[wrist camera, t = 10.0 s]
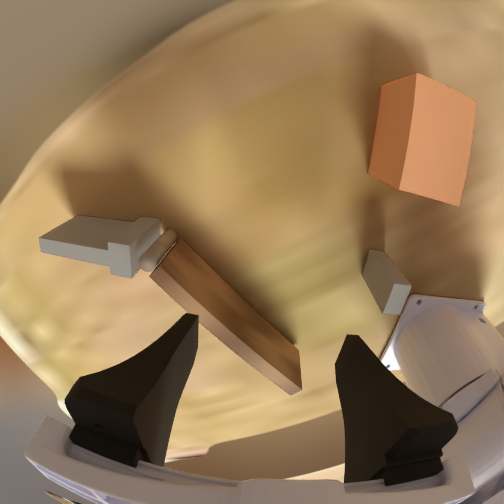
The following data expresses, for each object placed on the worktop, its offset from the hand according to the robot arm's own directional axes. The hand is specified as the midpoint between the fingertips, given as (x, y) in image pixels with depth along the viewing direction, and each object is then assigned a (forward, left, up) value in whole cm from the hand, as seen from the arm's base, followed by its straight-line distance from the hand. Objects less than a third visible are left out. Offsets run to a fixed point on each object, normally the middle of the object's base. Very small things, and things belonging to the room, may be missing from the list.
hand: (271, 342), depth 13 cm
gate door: (+7, -2, -7) cm, 10 cm away
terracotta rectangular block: (-7, -11, -7) cm, 15 cm away
